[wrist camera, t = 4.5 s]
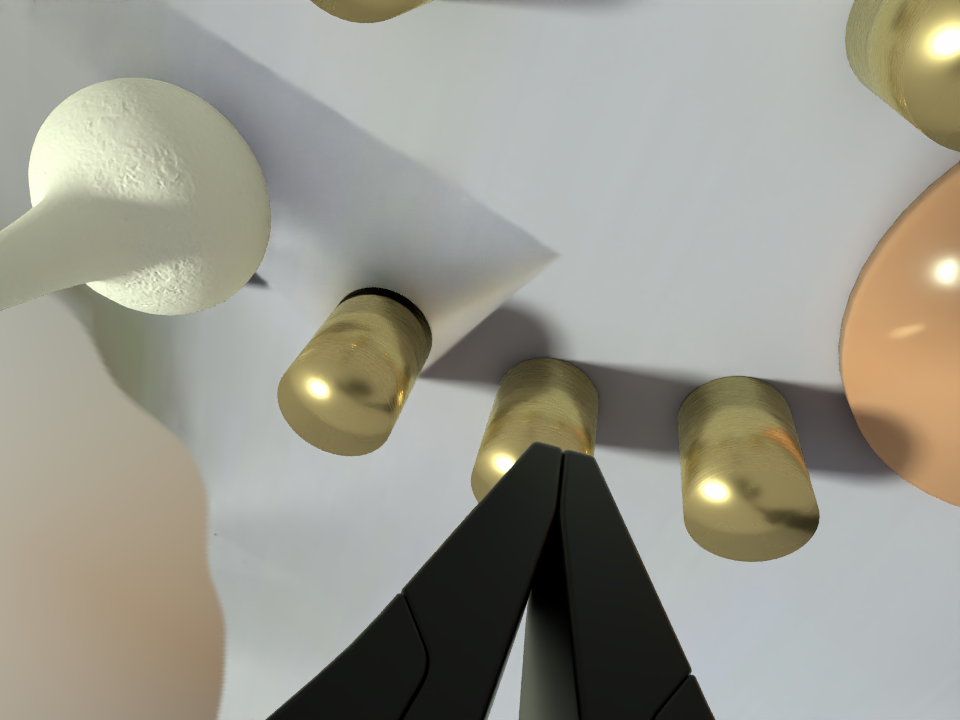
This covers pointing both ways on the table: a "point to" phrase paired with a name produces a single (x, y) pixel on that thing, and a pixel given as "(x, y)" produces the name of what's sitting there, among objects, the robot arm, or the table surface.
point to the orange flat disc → (910, 343)
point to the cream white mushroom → (138, 202)
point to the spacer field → (570, 393)
